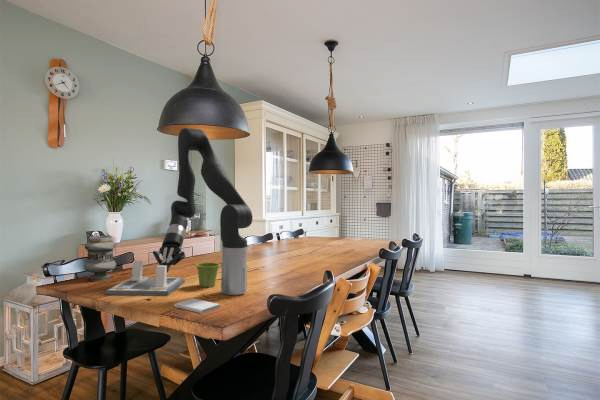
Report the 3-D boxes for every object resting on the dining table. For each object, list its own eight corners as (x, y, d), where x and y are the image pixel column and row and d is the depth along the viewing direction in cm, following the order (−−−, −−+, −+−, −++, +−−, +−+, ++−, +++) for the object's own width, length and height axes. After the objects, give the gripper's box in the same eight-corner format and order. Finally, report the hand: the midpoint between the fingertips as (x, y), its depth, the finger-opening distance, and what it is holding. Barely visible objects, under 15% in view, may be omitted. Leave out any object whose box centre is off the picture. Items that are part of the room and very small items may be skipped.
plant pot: (224, 285, 147) (224, 264, 147) (206, 289, 139) (206, 267, 140) (208, 282, 153) (209, 261, 153) (190, 286, 145) (191, 264, 145)
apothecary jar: (76, 279, 151) (78, 236, 151) (100, 274, 162) (102, 234, 162) (99, 282, 147) (100, 238, 147) (122, 277, 158) (123, 236, 159)
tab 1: (143, 279, 147) (143, 260, 147) (139, 281, 143) (139, 262, 143) (135, 279, 147) (135, 260, 147) (130, 281, 143) (131, 261, 143)
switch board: (184, 282, 151) (185, 277, 151) (168, 295, 130) (168, 289, 130) (131, 281, 150) (131, 276, 150) (105, 294, 129) (106, 288, 129)
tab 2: (167, 285, 137) (167, 265, 137) (163, 287, 133) (164, 267, 133) (158, 285, 137) (159, 265, 137) (154, 287, 133) (155, 266, 133)
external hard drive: (201, 315, 110) (174, 308, 117) (220, 308, 117) (193, 302, 124) (201, 310, 110) (174, 303, 117) (220, 303, 117) (194, 297, 124)
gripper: (156, 231, 147) (143, 266, 134) (188, 232, 147) (178, 267, 135) (160, 243, 152) (148, 278, 140) (192, 243, 152) (182, 278, 140)
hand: (163, 272), depth 137 cm, fingers closed
